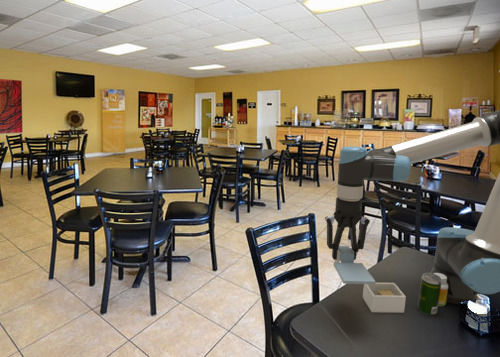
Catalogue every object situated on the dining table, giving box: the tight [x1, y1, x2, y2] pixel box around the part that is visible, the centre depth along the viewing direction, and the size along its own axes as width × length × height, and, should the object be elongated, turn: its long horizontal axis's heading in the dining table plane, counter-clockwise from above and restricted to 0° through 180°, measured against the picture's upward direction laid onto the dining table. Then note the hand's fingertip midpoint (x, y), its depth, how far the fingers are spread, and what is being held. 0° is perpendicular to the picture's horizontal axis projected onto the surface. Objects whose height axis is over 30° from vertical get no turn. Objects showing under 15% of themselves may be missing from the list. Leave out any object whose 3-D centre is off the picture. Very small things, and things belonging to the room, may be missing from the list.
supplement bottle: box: [433, 273, 448, 307], centre depth 102 cm, size 5×5×10 cm
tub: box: [362, 282, 407, 314], centre depth 100 cm, size 10×8×6 cm
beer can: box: [417, 272, 441, 316], centre depth 97 cm, size 5×5×12 cm
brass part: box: [377, 289, 396, 296], centre depth 100 cm, size 4×4×4 cm
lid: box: [333, 245, 376, 285], centre depth 93 cm, size 17×9×4 cm, turn 0°
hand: (343, 268), depth 100 cm, fingers closed on lid, 3 cm apart
